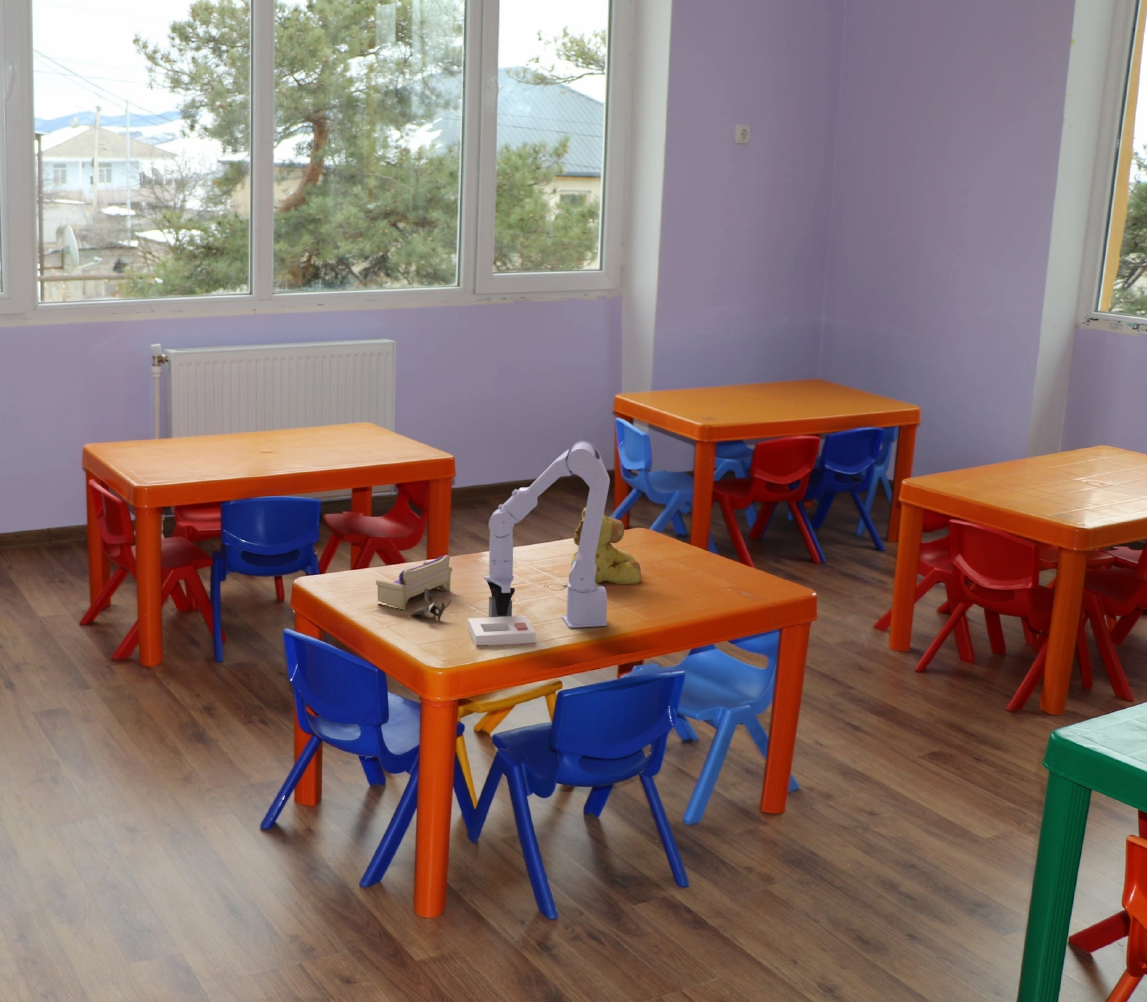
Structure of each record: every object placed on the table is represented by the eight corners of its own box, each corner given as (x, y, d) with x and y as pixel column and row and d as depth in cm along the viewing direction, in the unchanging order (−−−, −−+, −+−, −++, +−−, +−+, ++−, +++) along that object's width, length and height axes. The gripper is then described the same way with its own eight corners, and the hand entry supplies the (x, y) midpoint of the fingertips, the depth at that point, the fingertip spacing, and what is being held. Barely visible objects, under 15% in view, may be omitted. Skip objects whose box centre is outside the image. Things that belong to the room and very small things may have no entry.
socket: (525, 625, 308) (525, 613, 307) (535, 642, 297) (535, 630, 296) (467, 628, 305) (467, 616, 304) (475, 646, 293) (475, 633, 293)
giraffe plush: (654, 579, 347) (657, 511, 342) (593, 597, 331) (596, 525, 326) (601, 562, 361) (603, 496, 356) (539, 578, 345) (541, 509, 340)
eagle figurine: (455, 611, 313) (428, 597, 318) (448, 593, 308) (421, 579, 313) (435, 633, 310) (408, 618, 314) (428, 615, 304) (401, 601, 309)
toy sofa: (426, 584, 337) (426, 547, 334) (452, 590, 333) (452, 553, 330) (375, 605, 319) (374, 566, 317) (402, 612, 315) (402, 572, 313)
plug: (508, 615, 315) (509, 595, 314) (511, 620, 311) (512, 601, 310) (488, 616, 314) (488, 596, 312) (491, 621, 310) (491, 602, 309)
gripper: (479, 550, 314) (479, 603, 318) (489, 568, 301) (489, 622, 304) (507, 549, 316) (507, 601, 319) (519, 566, 303) (518, 621, 306)
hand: (500, 611), depth 312 cm, fingers closed on plug, 4 cm apart
